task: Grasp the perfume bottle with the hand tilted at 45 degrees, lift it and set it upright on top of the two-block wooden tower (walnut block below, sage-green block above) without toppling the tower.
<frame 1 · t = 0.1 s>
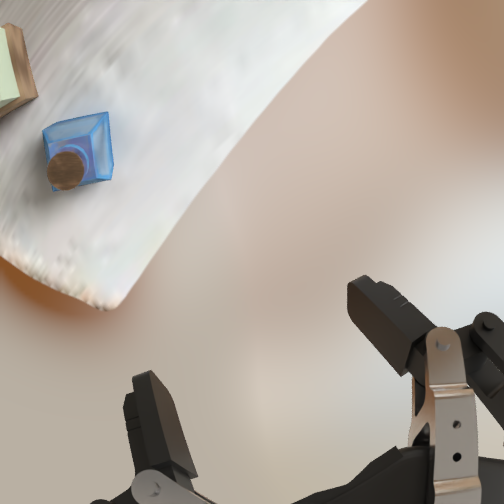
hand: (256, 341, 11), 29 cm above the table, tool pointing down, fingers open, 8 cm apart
perfume bottle: (84, 142, 30), on the table
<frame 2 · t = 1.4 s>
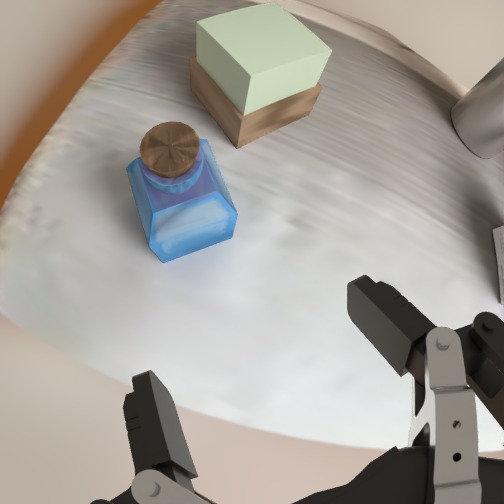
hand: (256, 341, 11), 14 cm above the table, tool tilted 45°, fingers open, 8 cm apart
tower base block: (249, 101, 31), on the table, touching tower top block
tower top block: (256, 71, 26), point 5 cm above the table, touching tower base block
perfume bottle: (185, 218, 27), on the table
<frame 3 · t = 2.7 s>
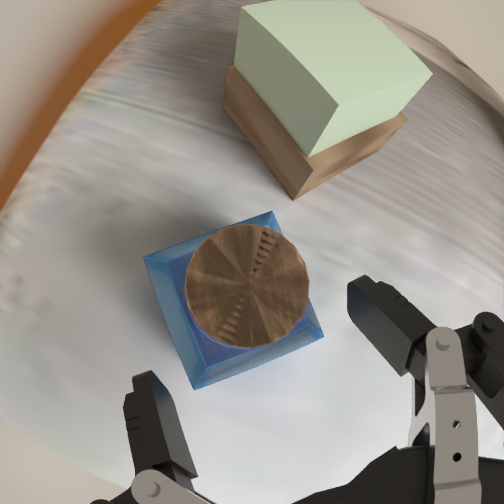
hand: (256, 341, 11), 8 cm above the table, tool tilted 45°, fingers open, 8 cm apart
tower base block: (303, 128, 23), on the table, touching tower top block
tower top block: (318, 87, 18), point 5 cm above the table, touching tower base block
perfume bottle: (227, 305, 20), on the table
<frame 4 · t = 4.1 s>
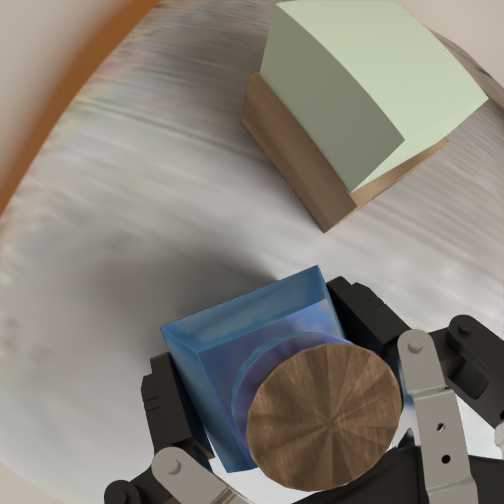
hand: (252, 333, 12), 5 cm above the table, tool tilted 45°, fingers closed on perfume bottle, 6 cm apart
tower base block: (332, 146, 20), on the table, touching tower top block
tower top block: (358, 105, 16), point 5 cm above the table, touching tower base block
perfume bottle: (252, 355, 17), on the table, touching gripper
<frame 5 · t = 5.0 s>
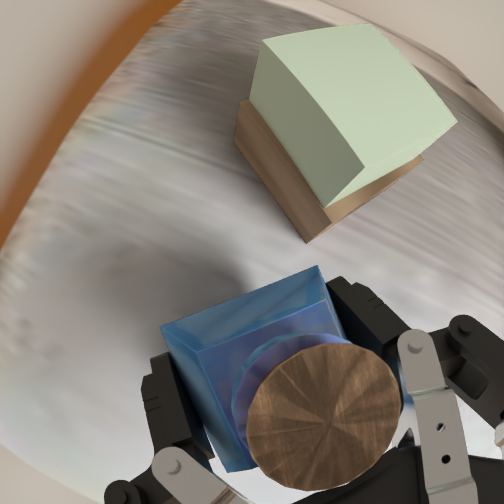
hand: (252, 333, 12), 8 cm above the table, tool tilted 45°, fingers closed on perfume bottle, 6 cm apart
tower base block: (316, 164, 23), on the table
tower top block: (337, 127, 18), point 5 cm above the table
perfume bottle: (252, 355, 17), point 2 cm above the table, touching gripper
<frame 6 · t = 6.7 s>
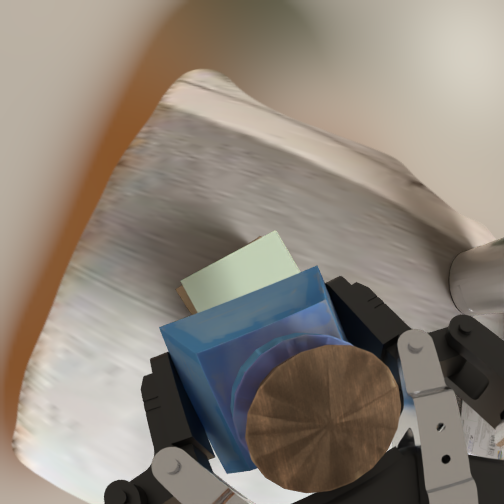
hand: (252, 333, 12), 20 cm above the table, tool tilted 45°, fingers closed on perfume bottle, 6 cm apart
tower top block: (247, 306, 28), point 5 cm above the table, touching tower base block
perfume bottle: (251, 355, 17), point 15 cm above the table, touching gripper
ink cartridge box: (470, 415, 33), on the table
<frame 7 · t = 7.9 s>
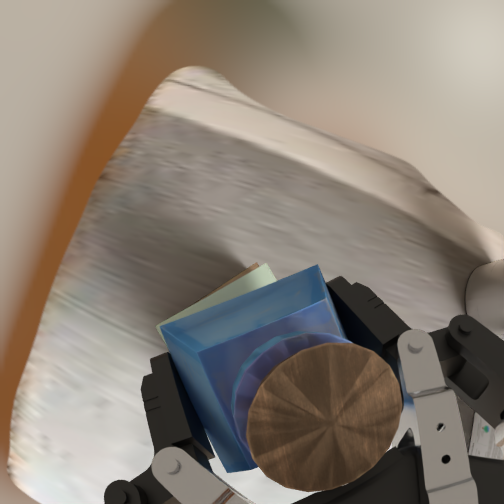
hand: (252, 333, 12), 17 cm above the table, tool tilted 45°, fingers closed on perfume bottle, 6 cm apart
tower top block: (237, 343, 24), point 5 cm above the table, touching tower base block
perfume bottle: (252, 355, 17), point 12 cm above the table, touching gripper
ink cartridge box: (480, 436, 29), on the table
when the fingers open (17 cm above the table, at t = 8.6 s): perfume bottle drops 2 cm, resting on tower top block.
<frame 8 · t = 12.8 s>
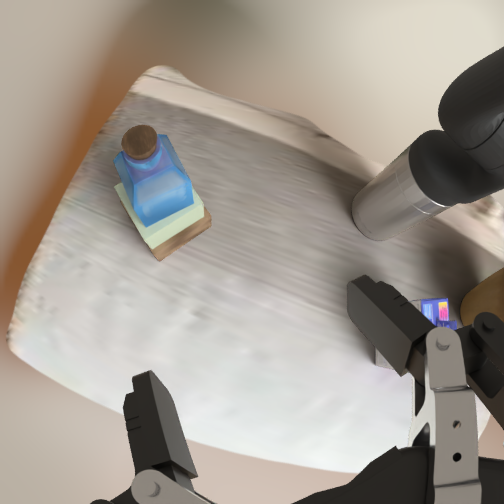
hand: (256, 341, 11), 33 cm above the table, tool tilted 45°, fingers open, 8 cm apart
tower base block: (168, 219, 46), on the table, touching tower top block
tower top block: (162, 208, 41), point 5 cm above the table, touching perfume bottle, tower base block
perfume bottle: (159, 194, 36), point 9 cm above the table, touching tower top block
ink cartridge box: (388, 334, 46), on the table
plant pot: (470, 310, 49), on the table
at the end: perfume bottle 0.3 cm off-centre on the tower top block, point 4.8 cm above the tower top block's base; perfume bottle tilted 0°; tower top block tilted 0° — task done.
